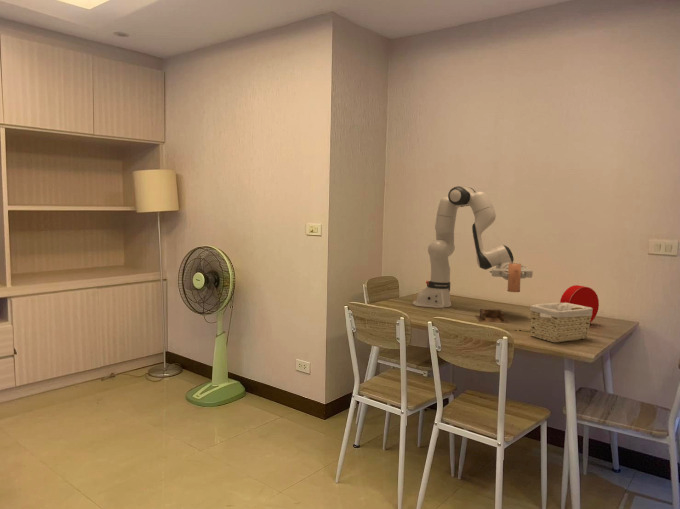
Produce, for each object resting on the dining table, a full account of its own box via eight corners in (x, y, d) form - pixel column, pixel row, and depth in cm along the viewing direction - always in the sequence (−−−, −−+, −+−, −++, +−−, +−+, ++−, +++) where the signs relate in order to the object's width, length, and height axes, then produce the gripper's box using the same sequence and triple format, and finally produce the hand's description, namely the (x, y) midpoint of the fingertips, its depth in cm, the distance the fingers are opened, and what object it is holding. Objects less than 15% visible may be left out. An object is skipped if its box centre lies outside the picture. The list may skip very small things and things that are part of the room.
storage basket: (562, 331, 250) (564, 301, 248) (592, 339, 236) (595, 307, 234) (526, 336, 239) (528, 304, 237) (556, 345, 224) (558, 311, 223)
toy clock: (588, 322, 271) (590, 284, 269) (597, 325, 265) (600, 286, 263) (558, 324, 263) (560, 285, 262) (566, 327, 258) (569, 287, 256)
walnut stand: (479, 324, 260) (479, 313, 260) (474, 317, 275) (474, 307, 275) (510, 325, 259) (510, 315, 259) (503, 318, 274) (504, 309, 273)
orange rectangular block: (509, 292, 259) (511, 264, 258) (506, 290, 268) (507, 263, 266) (522, 293, 259) (523, 265, 257) (518, 290, 267) (519, 263, 266)
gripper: (489, 265, 277) (494, 268, 264) (528, 266, 275) (535, 269, 262) (488, 276, 278) (493, 280, 264) (528, 278, 276) (535, 281, 262)
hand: (514, 274), depth 263 cm, fingers closed on orange rectangular block, 6 cm apart
